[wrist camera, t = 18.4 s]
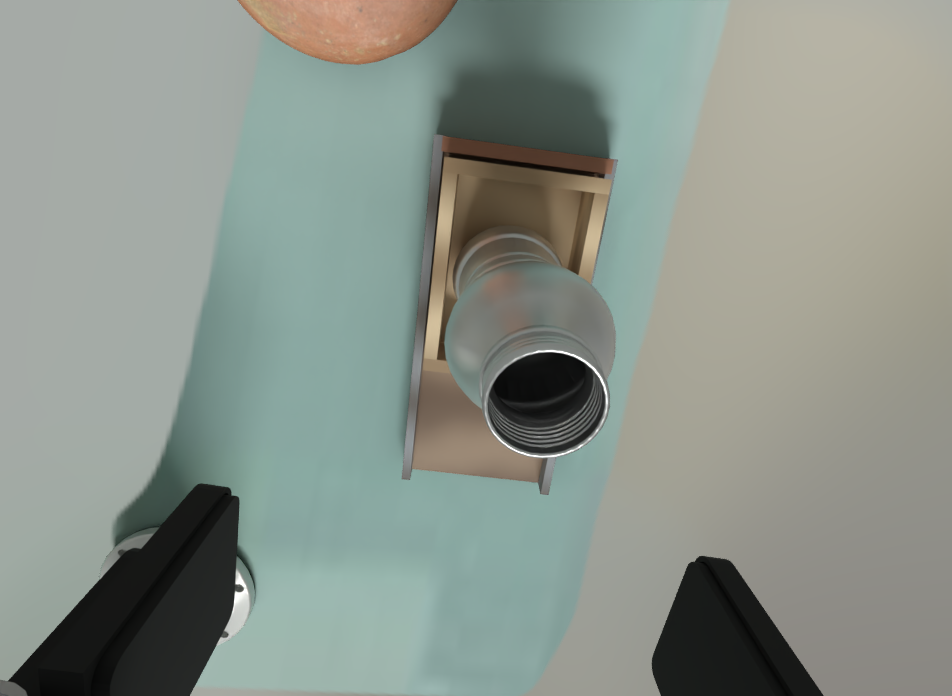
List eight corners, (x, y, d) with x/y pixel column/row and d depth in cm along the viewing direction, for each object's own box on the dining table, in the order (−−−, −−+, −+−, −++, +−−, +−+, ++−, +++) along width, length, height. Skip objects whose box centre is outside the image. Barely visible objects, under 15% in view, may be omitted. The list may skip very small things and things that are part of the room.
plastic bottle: (454, 219, 33) (427, 291, 14) (561, 222, 33) (681, 299, 14) (453, 317, 35) (427, 497, 16) (553, 320, 35) (646, 502, 16)
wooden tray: (545, 477, 41) (551, 507, 38) (404, 462, 41) (398, 490, 37) (609, 160, 33) (625, 159, 30) (436, 136, 33) (431, 132, 29)
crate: (558, 361, 37) (569, 387, 33) (428, 346, 36) (422, 370, 32) (594, 177, 33) (612, 179, 28) (448, 157, 32) (444, 156, 28)
